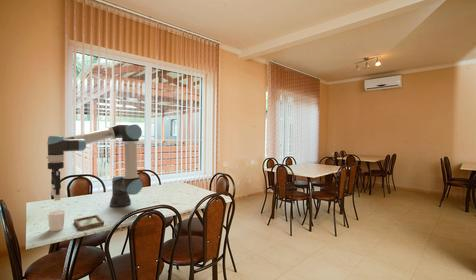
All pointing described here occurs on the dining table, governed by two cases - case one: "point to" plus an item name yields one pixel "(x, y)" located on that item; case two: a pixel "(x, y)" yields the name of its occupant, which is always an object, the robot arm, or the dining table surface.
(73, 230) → the dining table surface
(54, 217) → the pale pink cup
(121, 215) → the dining table surface
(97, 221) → the walnut tray
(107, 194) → the dining table surface
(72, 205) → the dining table surface
